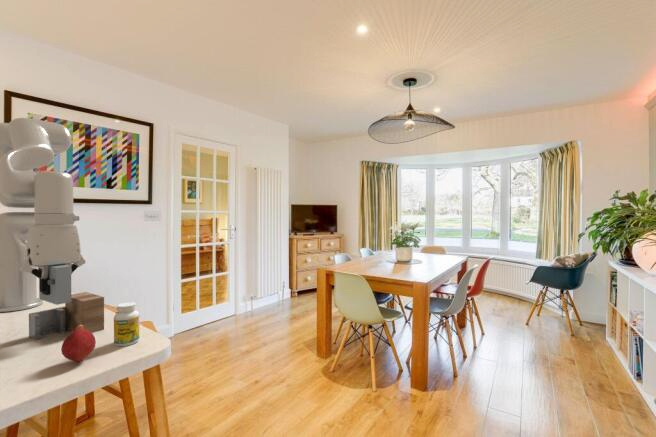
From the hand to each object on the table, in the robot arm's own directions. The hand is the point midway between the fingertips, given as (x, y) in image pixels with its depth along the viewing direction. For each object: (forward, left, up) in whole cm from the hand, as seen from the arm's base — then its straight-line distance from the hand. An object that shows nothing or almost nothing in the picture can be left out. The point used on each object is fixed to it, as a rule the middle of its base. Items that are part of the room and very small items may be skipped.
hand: (55, 291), depth 82 cm
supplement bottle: (+18, +8, -12) cm, 23 cm away
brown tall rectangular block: (-1, +7, -12) cm, 14 cm away
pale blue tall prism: (0, 0, -2) cm, 2 cm away
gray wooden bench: (-5, +1, -12) cm, 13 cm away
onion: (+20, -3, -12) cm, 23 cm away
